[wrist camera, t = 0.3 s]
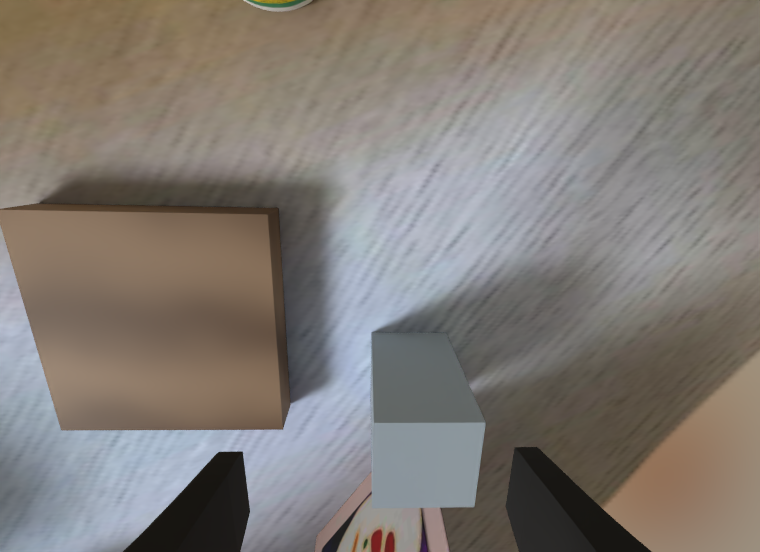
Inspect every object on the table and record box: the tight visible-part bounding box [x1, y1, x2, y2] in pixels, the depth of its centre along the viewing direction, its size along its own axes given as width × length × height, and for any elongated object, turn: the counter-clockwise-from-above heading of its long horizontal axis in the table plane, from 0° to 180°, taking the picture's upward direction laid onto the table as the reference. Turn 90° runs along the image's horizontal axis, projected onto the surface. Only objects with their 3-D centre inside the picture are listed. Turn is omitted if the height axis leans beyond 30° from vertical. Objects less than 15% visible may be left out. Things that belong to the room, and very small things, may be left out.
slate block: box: [370, 332, 486, 508], centre depth 17 cm, size 4×4×7 cm
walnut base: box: [0, 203, 290, 430], centre depth 18 cm, size 11×11×2 cm
